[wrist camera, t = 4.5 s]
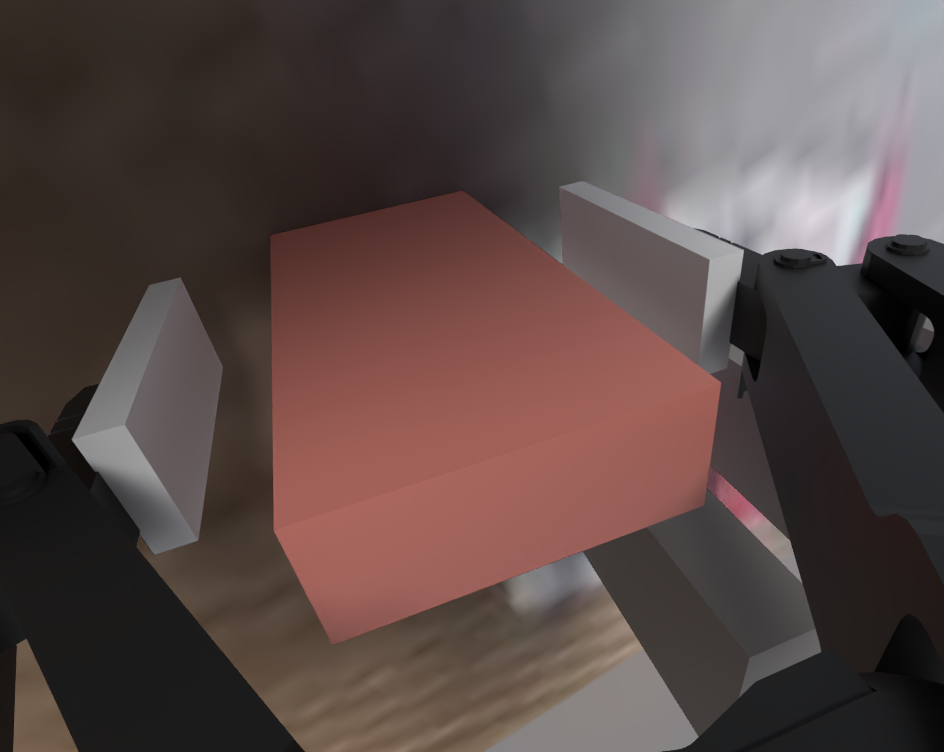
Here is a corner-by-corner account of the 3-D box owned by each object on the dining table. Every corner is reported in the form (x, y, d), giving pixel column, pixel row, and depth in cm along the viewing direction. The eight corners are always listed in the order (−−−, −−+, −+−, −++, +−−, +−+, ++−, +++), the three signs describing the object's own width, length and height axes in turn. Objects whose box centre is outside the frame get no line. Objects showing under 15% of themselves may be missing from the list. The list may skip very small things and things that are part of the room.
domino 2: (685, 441, 27) (927, 670, 17) (696, 335, 23) (1005, 544, 14) (727, 427, 27) (987, 641, 17) (743, 321, 24) (1076, 513, 14)
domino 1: (544, 490, 25) (719, 770, 16) (535, 385, 22) (749, 657, 12) (591, 474, 26) (790, 736, 16) (588, 369, 22) (837, 618, 13)
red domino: (473, 261, 18) (703, 505, 9) (296, 307, 17) (332, 644, 8) (462, 190, 17) (721, 382, 7) (270, 235, 16) (273, 530, 6)
